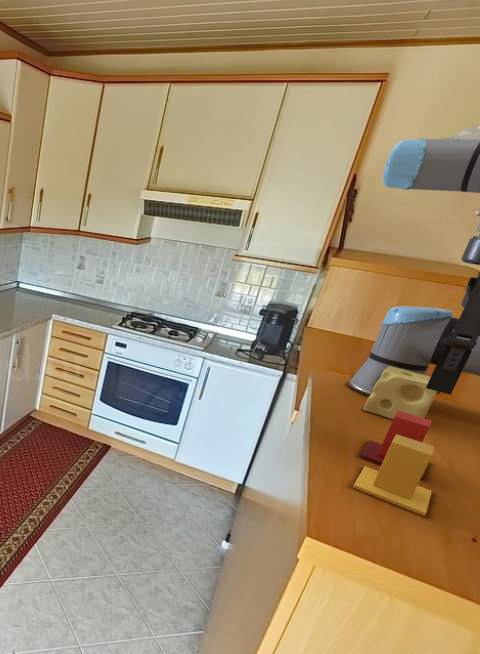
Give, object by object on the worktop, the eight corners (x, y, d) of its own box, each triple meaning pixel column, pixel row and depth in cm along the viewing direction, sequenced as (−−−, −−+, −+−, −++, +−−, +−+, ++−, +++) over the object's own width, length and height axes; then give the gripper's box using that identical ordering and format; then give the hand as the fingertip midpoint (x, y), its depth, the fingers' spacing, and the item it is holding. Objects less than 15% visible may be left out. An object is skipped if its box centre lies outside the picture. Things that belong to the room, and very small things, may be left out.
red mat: (368, 442, 97) (369, 439, 97) (427, 462, 91) (429, 459, 91) (359, 457, 90) (360, 454, 90) (422, 479, 84) (423, 477, 84)
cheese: (362, 410, 113) (378, 370, 110) (372, 401, 120) (389, 363, 117) (419, 429, 106) (439, 387, 103) (427, 418, 113) (446, 378, 110)
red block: (381, 447, 93) (398, 410, 91) (413, 458, 90) (431, 420, 88) (377, 455, 90) (394, 416, 87) (410, 466, 87) (429, 426, 84)
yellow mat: (363, 468, 86) (365, 465, 86) (430, 493, 80) (432, 490, 80) (352, 487, 79) (354, 484, 79) (424, 516, 73) (426, 513, 73)
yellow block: (377, 475, 83) (396, 434, 80) (413, 489, 79) (434, 446, 77) (372, 485, 79) (392, 441, 77) (410, 499, 76) (432, 455, 73)
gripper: (474, 234, 77) (418, 359, 84) (468, 233, 60) (399, 390, 68) (544, 241, 72) (478, 373, 79) (558, 242, 55) (472, 410, 63)
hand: (441, 381), depth 74 cm, fingers open, 13 cm apart
